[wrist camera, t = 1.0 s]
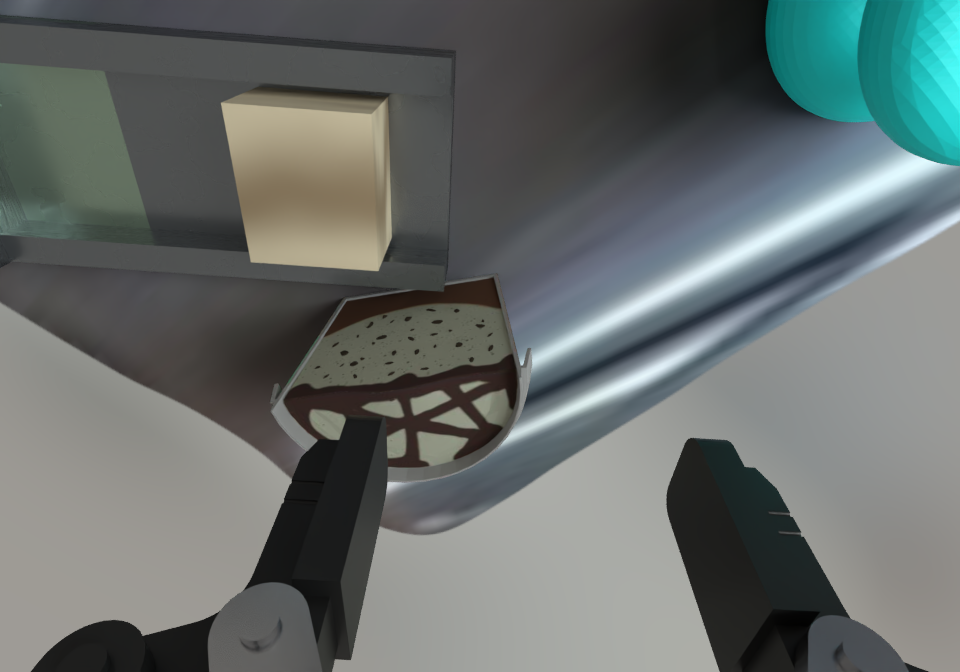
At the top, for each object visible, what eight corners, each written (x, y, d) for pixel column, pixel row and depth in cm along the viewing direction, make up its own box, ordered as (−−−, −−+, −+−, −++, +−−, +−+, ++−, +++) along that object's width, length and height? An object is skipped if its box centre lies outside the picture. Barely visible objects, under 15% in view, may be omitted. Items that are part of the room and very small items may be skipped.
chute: (-75, 8, 24) (-167, 12, 21) (455, 51, 24) (449, 61, 21) (24, 236, 30) (-35, 268, 27) (447, 266, 30) (442, 301, 27)
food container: (351, 380, 35) (308, 502, 27) (320, 301, 32) (258, 412, 24) (536, 354, 34) (550, 475, 25) (522, 269, 31) (533, 375, 22)
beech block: (257, 86, 24) (220, 102, 21) (388, 96, 25) (371, 114, 21) (279, 229, 28) (250, 262, 25) (391, 237, 28) (378, 271, 25)
